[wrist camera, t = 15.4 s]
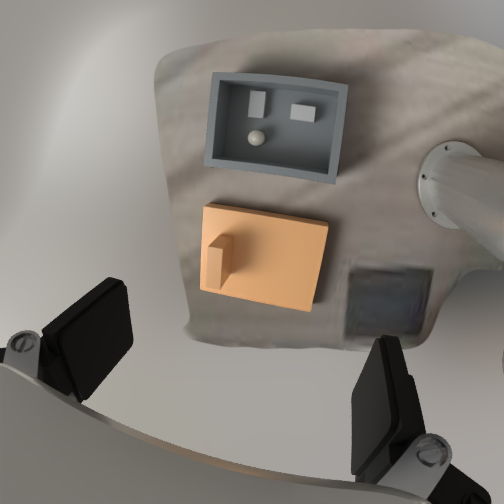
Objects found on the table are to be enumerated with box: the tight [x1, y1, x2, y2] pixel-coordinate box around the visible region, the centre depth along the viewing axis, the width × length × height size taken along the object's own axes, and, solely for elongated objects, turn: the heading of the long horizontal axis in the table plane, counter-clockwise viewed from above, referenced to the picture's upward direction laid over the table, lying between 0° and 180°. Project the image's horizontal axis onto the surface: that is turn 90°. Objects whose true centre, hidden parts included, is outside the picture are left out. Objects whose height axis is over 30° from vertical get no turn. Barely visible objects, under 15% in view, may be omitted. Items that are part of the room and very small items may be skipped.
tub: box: [204, 72, 348, 184], centre depth 35 cm, size 16×12×6 cm
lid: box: [200, 203, 328, 312], centre depth 42 cm, size 17×13×7 cm
